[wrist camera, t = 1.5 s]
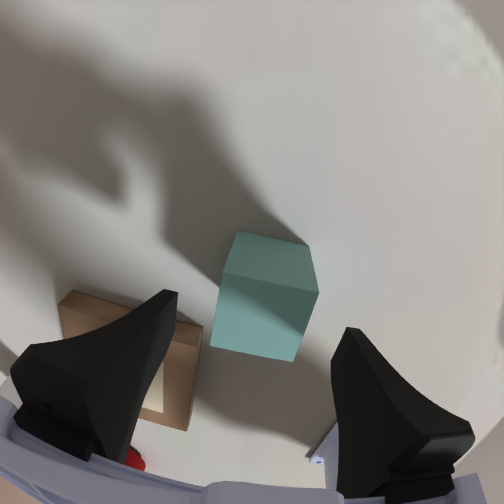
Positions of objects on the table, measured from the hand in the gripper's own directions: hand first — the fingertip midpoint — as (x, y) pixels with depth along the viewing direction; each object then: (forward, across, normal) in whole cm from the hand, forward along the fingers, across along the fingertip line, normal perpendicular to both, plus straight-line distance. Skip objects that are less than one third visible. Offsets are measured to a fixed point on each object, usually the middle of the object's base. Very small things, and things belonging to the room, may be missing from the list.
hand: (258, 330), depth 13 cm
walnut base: (+6, +8, +10) cm, 14 cm away
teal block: (+6, 0, 0) cm, 6 cm away
